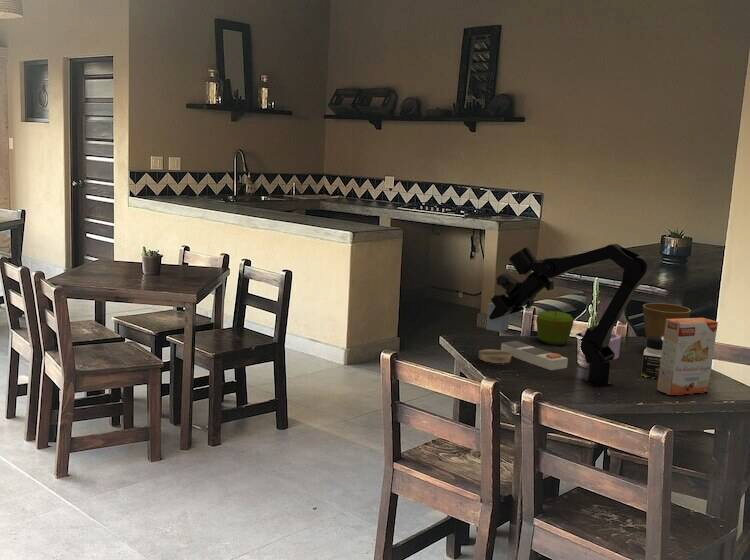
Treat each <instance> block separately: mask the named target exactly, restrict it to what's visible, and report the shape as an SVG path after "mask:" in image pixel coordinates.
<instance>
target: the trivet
mask: <svg viewBox="0 0 750 560" xmlns="http://www.w3.org/2000/svg"><path fill="white" fill-rule="evenodd" d="M478 358H479V359H480V360H483V361H485V362H484V363H486V362H491V363H502V364H501V365H505V364H504V363H508V364H510V363H511V362H512V356H511V354H510V353H508V352H505V351H501V349H491V348H490V349H480V350H479V351H478ZM479 359H478V360H479ZM480 360H479V361H480ZM491 363H490V364H491Z"/></svg>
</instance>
